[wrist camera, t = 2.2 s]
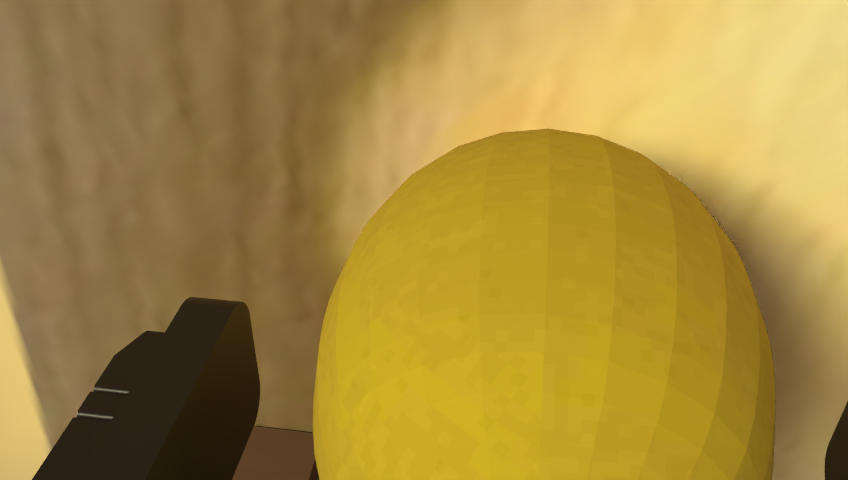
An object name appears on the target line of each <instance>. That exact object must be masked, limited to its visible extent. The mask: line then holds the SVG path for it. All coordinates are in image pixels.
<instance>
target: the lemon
mask: <svg viewBox="0 0 848 480" xmlns="http://www.w3.org/2000/svg"><path fill="white" fill-rule="evenodd" d="M774 432H775V374H774V366H773V358H772V350H771V346H770V342H769V338H768V333H767V329H766V326H765V323H764V320H763V317H762V314H761V312H760V309H759V306H758V303H757V300H756V297H755V294H754V291H753V289H752V286H751V283H750V280H749V277H748V275H747V272H746V269H745V266H744V264H743V262H742V260H741V258H740V256H739V254H738V252H737V251H736V249H735V247H734V246H733V244H732V243H731V241H730V240H729V238H728V237H727V235H726V234H725V233H724V231H723V230H722V229H721V227H720V226H719V225H718V224H717V222H716V221H715V220H714V218H713V217H712V216H711V215H710V213H709V212H708V211H707V209H706V208H705V207H704V206H703V204H702V203H701V202H700V200H699V199H698V198H697V197H696V196H695V195H694V194H693V193H692V191H691V190H690V189H689V188H688V187H687V186H685V185H684V184H683V183H681V182H680V181H679V180H677V179H676V178H674V177H673V176H672V175H670V174H669V173H667V172H666V171H665V170H663V169H662V168H660V167H659V166H658V165H656V164H655V163H653V162H652V161H651V160H649V159H648V158H646V157H645V156H643V155H641V154H640V153H638V152H635V151H633V150H630V149H628V148H625V147H623V146H620V145H618V144H615V143H613V142H610V141H608V140H605V139H602V138H600V137H597V136H593V135H587V134H580V133H573V132H567V131H560V130H553V129H541V130H529V131H516V132H504V133H499V134H496V135H493V136H490V137H487V138H483V139H480V140H477V141H474V142H471V143H467V144H464V145H461V146H458V147H457V148H455V149H453V150H452V151H450V152H448V153H447V154H445V155H443V156H442V157H440V158H438V159H437V160H435V161H433V162H432V163H430V164H428V165H427V166H425V167H424V168H422V169H420V170H419V171H417V172H415V173H414V174H412V175H411V176H410V177H409V178H408V179H407V180H406V181H405V182H404V183H403V184H402V185H401V186H400V187H399V188H398V189H397V190H396V191H395V193H394V194H393V195H392V196H391V197H390V198H389V199H388V200H387V201H386V202H385V203H384V204H383V205H382V207H381V208H380V209H379V210H378V211H377V212H376V213H375V214H374V215H373V216H372V218H371V219H370V220H369V222H368V223H367V225H366V226H365V227H364V229H363V230H362V232H361V234H360V236H359V237H358V239H357V241H356V243H355V245H354V247H353V249H352V251H351V253H350V255H349V257H348V259H347V261H346V264H345V266H344V268H343V270H342V272H341V274H340V276H339V278H338V280H337V282H336V285H335V287H334V290H333V292H332V295H331V297H330V299H329V303H328V306H327V310H326V313H325V317H324V320H323V326H322V332H321V337H320V343H319V352H318V361H317V370H316V379H315V390H314V401H313V439H314V454H315V459H316V464H317V470H318V475H319V480H771V479H772V472H773V457H774Z"/></svg>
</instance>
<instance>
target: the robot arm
mask: <svg viewBox="0 0 848 480" xmlns="http://www.w3.org/2000/svg"><path fill="white" fill-rule="evenodd" d="M94 387H95V388H94V391H93V392H90V393H89V395H88V396H87V398H86V399H85V401H84V402H83V404H82V405H81V407H80V408H79V410H78V415H77V417H76V418H75V417H73V419H72V420H71V422H70V423H69V425H68V426H67V428H66V429H65V431H64V432H63V434H62V435H61V437H60V438H59V440H58V441H57V443H56V444H55V446H54V447H53V449H52V450H51V452H50V453H49V455H48V456H47V458H46V459H45V461H44V462H43V464H42V465H41V467H40V468H39V470H38V471H37V473H36V474H35V476H34V477H33V479H32V480H232V479H233V476H234V474H235V471H236V469H237V466H238V464H239V461H240V459H241V457H242V454H243V452H244V449H245V447H246V444H247V442H248V440H249V437H250V435H251V432H252V430H253V427H254V424H255V421H256V417H257V413H258V407H259V399H260V381H259V374H258V367H257V361H256V354H255V347H254V341H253V334H252V327H251V321H250V314H249V310H248V307H247V305H246V304H245V303H244V302H238V301H227V300H217V299H206V298H196V297H190V298H188V299H186V300H185V301H184V303H183V304H182V305H181V307H180V309H179V310H178V312H177V314H176V315H175V317H174V318H173V320H172V322H171V323H170V325H169V327H168V328H167V330H166V332H165V333H164V332H154V331H146V332H144V333H143V334H142V335H140V336H139V337H138V338H136V339H135V340H134V341H133V342H131V343H130V344H129V345H127V346H126V347H125V348H124V349H122V350H121V351H120V352H118V353H117V354H116V355H114V357H113V358H112V360H111V361H110V363H109V364H108V366H107V367H106V369H105V370H104V372H103V373H102V375H101V376H100V378H99V380H98V381H97V383H96V384H95V386H94ZM825 480H848V402H847V404H846V406H845V409H844V411H843V413H842V415H841V418H840V420H839V422H838V424H837V427H836V429H835V431H834V433H833V436H832V438H831V440H830V442H829V445H828V448H827V452H826V457H825Z"/></svg>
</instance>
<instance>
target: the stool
mask: <svg viewBox="0 0 848 480" xmlns="http://www.w3.org/2000/svg"><path fill="white" fill-rule="evenodd" d="M232 480H319V475H318V470H317V464H316V459H315V454H314V439H313V433H308V432H300V431H291V430H283V429H274V428H266V427H257V426H254V427H253V430H252V432H251V435H250V437H249V440H248V442H247V444H246V447H245V449H244V452H243V454H242V457H241V459H240V461H239V464H238V466H237V469H236V471H235V474H234V476H233V479H232Z"/></svg>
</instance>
